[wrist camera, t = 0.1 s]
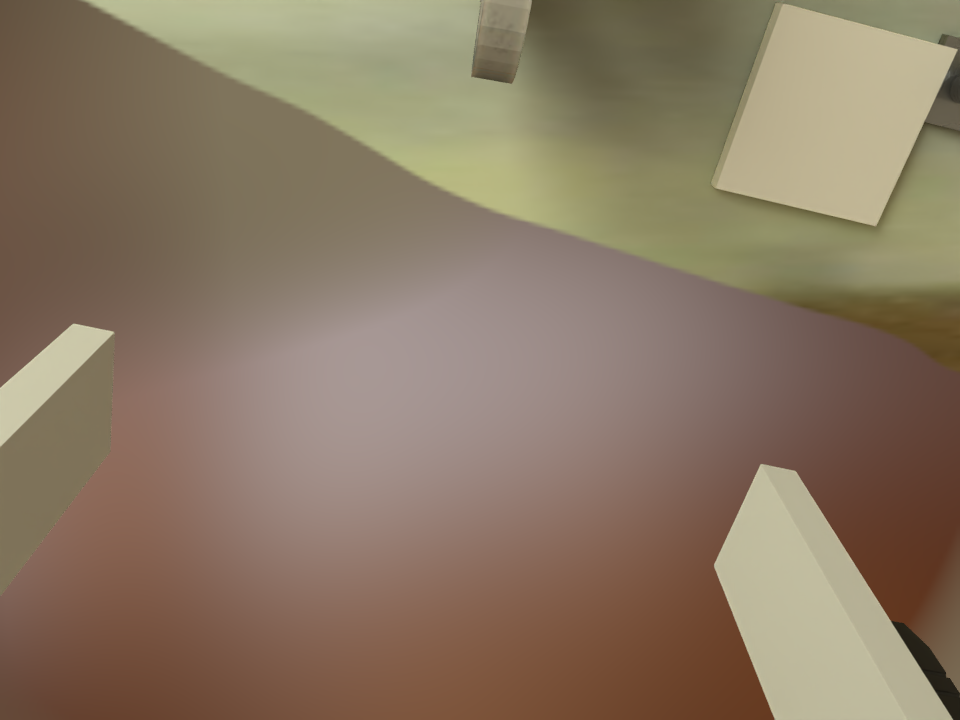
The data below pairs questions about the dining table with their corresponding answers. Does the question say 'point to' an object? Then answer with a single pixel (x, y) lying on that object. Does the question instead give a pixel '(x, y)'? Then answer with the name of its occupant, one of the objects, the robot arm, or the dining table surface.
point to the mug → (500, 39)
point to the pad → (830, 114)
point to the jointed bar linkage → (948, 92)
